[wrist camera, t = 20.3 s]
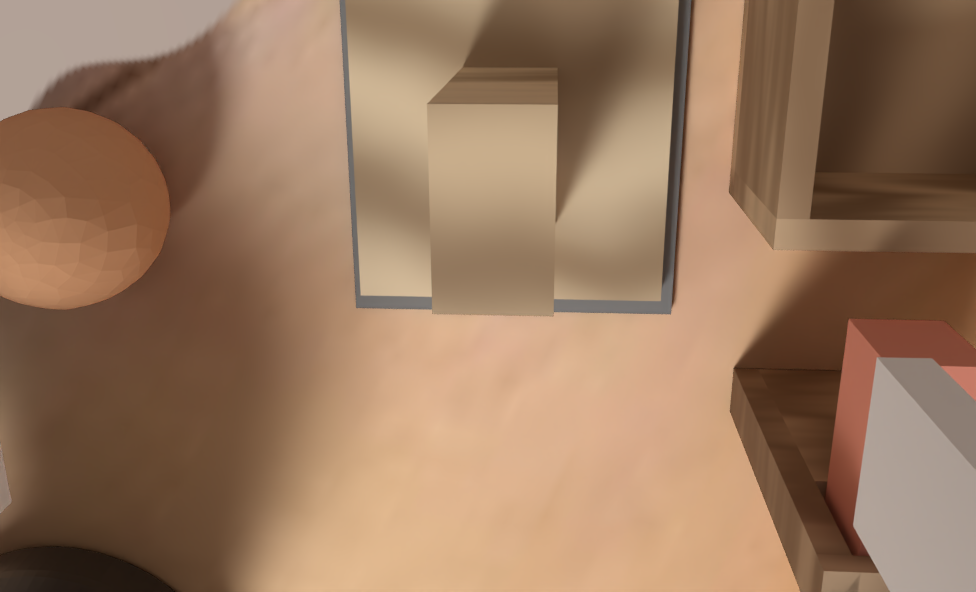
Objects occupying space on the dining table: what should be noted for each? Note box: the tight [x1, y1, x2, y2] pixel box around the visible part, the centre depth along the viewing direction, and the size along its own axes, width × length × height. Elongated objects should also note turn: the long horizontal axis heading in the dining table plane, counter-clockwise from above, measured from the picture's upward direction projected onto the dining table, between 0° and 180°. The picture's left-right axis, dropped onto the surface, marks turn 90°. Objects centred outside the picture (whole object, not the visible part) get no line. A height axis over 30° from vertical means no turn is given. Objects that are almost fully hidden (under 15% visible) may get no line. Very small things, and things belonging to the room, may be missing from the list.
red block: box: [825, 319, 976, 556], centre depth 29 cm, size 3×16×4 cm, turn 0°
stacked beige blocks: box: [345, 0, 679, 316], centre depth 30 cm, size 20×12×11 cm, turn 0°
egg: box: [0, 107, 170, 310], centre depth 34 cm, size 7×7×8 cm
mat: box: [340, 0, 691, 314], centre depth 35 cm, size 13×22×1 cm, turn 0°
